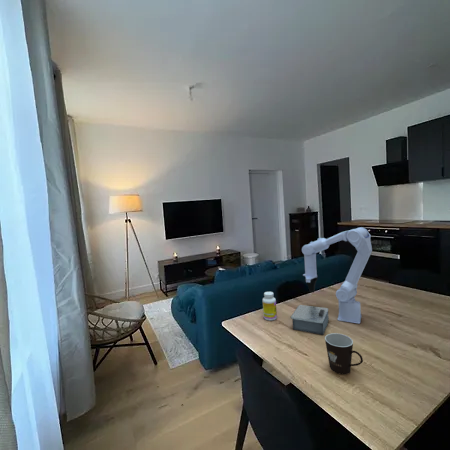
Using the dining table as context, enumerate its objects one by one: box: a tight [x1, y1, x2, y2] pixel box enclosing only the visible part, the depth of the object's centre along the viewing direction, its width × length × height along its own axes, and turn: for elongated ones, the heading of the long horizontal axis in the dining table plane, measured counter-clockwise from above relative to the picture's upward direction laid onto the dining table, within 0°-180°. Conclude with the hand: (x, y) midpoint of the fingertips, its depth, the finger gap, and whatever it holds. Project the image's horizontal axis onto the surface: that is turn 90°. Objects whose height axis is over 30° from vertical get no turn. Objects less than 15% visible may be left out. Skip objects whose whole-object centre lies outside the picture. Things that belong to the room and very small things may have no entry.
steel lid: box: [290, 304, 329, 323], centre depth 114 cm, size 14×15×2 cm
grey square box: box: [291, 311, 330, 336], centre depth 114 cm, size 13×14×5 cm
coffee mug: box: [324, 332, 364, 375], centre depth 82 cm, size 12×9×10 cm
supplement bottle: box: [262, 291, 278, 321], centre depth 124 cm, size 7×7×13 cm
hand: (311, 291), depth 131 cm, fingers closed
